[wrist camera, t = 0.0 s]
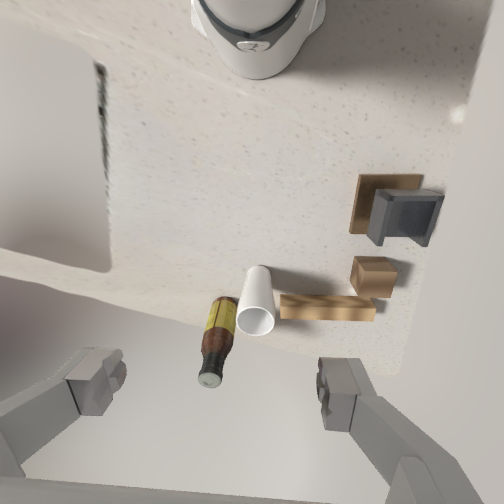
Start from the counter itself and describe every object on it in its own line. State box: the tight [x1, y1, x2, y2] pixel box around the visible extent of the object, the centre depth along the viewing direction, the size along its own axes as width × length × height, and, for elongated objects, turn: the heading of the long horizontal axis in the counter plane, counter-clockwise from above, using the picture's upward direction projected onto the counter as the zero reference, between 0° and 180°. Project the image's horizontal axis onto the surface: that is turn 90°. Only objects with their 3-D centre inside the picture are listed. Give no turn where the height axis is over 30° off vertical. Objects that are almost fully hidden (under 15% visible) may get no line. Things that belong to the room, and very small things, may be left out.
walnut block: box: [350, 256, 398, 298], centre depth 48 cm, size 6×6×6 cm
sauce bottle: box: [198, 297, 237, 388], centre depth 49 cm, size 7×6×20 cm
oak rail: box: [280, 294, 376, 321], centre depth 54 cm, size 20×4×4 cm, turn 91°
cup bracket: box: [349, 174, 445, 247], centre depth 40 cm, size 11×10×10 cm
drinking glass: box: [236, 266, 275, 336], centre depth 47 cm, size 7×7×15 cm
